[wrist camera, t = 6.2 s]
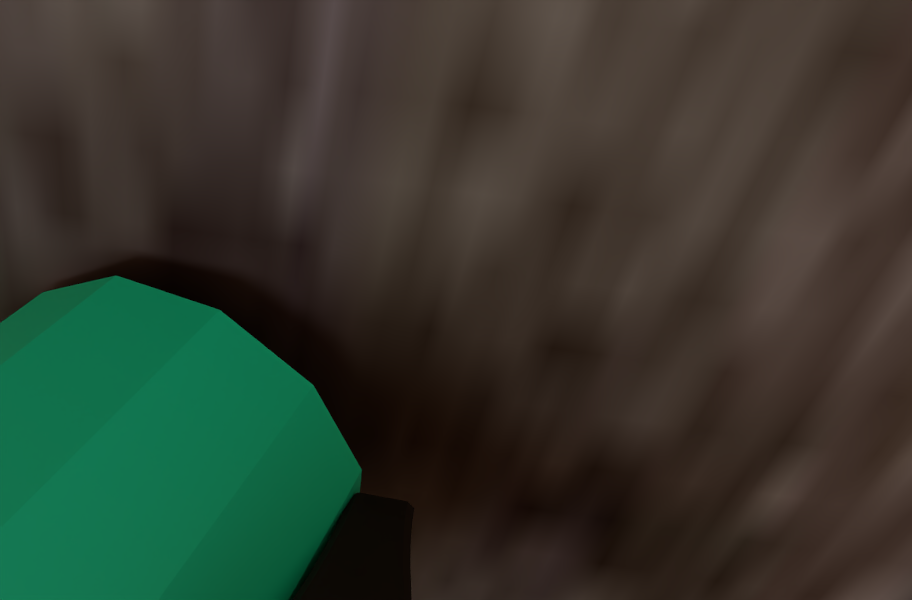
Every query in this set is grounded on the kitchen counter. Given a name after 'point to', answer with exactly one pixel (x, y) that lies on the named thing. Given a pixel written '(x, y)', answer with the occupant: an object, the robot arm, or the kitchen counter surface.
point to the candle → (158, 453)
